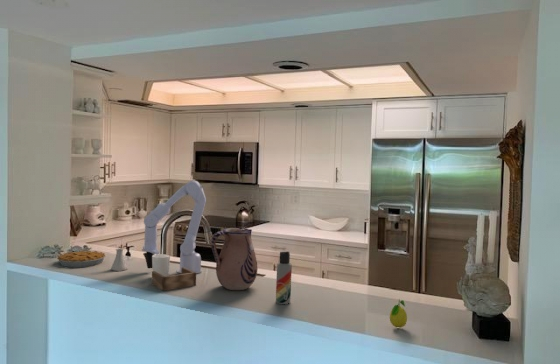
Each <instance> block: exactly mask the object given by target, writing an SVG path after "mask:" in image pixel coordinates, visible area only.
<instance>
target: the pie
mask: <svg viewBox="0 0 560 364" xmlns="http://www.w3.org/2000/svg"><path fill="white" fill-rule="evenodd" d="M105 258H106V254H105V253H103V252H100V251H99V252H98V251H96V250H95V251H91V250H86V251H85V250H81V251H71V252H69V253H68V252H66V253H63V254H60V255H58V257H57V260H58V261H59V263H60V264H61V266H63V267H71V268H86V267H93V266H98V265H100V264H101V263H103V261H104V259H105Z"/></svg>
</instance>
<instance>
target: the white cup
mask: <svg viewBox="0 0 560 364" xmlns="http://www.w3.org/2000/svg"><path fill="white" fill-rule="evenodd" d="M170 260H171V255H169V254H164V253H159V254H157V255H153V256H152V268H151V270H152V271H155V272H157V273H159V274H161V275H163V276H169V271H170V263H171V261H170Z"/></svg>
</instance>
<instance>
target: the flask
mask: <svg viewBox="0 0 560 364" xmlns="http://www.w3.org/2000/svg"><path fill="white" fill-rule="evenodd" d="M115 251H116V254H115V257H114V258H115V259H114V260H113V263H112V266H111V267H110V270H111V271H115V272H121V271H125V270H128V266H127V264H126V262H125V261H126V260H125V257H124V254H123V251H124V248H116V249H115Z"/></svg>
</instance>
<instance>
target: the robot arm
mask: <svg viewBox="0 0 560 364" xmlns="http://www.w3.org/2000/svg"><path fill="white" fill-rule="evenodd" d="M188 195H189V196H190V197H192V199H193V201H194V207H193V209H192V214H191V218H190V220H189V224H188V228H187V231H186V234H185V237H184V240H183V242H182V243H181V244H180V247H179V249H180V254H179V255H180V257H179V269H178V270H176V273H179V274H181V269H182V267H185V268H187V269H189V270H191V271H194V272H196V274H200V273H202V271H201V269H202V257H201V254H200V253H198V252H196V251H195V249H196V246H197V242H196V239H197V235H198V232H199V227H200V223H201V221H202V220H201V219H202V217H203V213H204V209H205V205H206V203H207V202H206V201H207V197H206V194H205V191H204V189H203V186H202V185H201V183H200V182H199V181H197V180H190V181H188V182H187V183H186V184H184V185H182V186H181V187H180V188H179V189H178V190H176V191H175V193H173V194H172V195H171V196H170V198H168V199H167V201H165V202H160V203H157V204H156V207H155V208H154V209H153V210H151V211H150V212H149V214H147V215H146V216H145V217H144V218H143V219H144V220H143V224H144V244H143V246H142V249H141V251H142V252H144V253H143V257H144V259H145V262H146V263H145V264H146V267H147V269H152V256H153V255H157V254H160V251H159V249H158V223H159V222H160V221H161V220H162V219H163V218H164V217H166V216H167V214H169V213H170V211H171V207H172V206H173V205H174V204H175V203H177V202H178V201H179V200H180V199H182V198H183V197H185V196H188Z"/></svg>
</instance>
